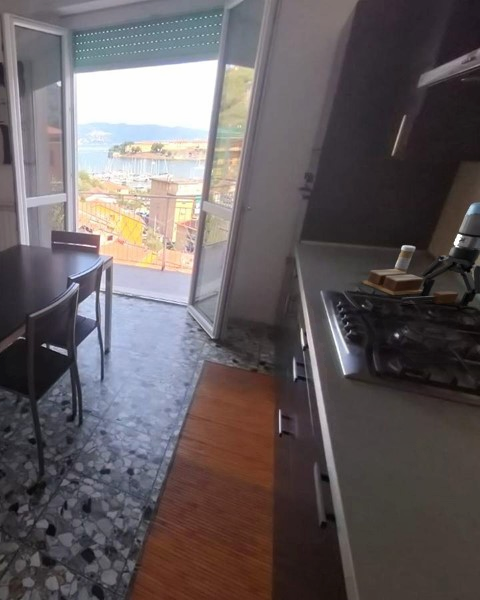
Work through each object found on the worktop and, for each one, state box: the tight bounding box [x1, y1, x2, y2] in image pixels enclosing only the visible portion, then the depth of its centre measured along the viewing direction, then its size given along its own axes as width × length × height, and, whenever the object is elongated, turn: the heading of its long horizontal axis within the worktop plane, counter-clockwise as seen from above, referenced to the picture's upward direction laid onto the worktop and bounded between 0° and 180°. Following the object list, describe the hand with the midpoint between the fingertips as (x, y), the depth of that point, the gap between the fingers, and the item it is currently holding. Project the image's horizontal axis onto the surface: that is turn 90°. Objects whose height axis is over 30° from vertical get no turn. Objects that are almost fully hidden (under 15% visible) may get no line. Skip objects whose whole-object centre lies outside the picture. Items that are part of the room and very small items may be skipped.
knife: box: [399, 290, 459, 306], centre depth 134 cm, size 23×2×4 cm, turn 99°
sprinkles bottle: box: [393, 244, 416, 273], centre depth 162 cm, size 5×5×14 cm
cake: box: [362, 268, 425, 296], centre depth 148 cm, size 14×14×6 cm
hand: (442, 301), depth 136 cm, fingers open, 12 cm apart
